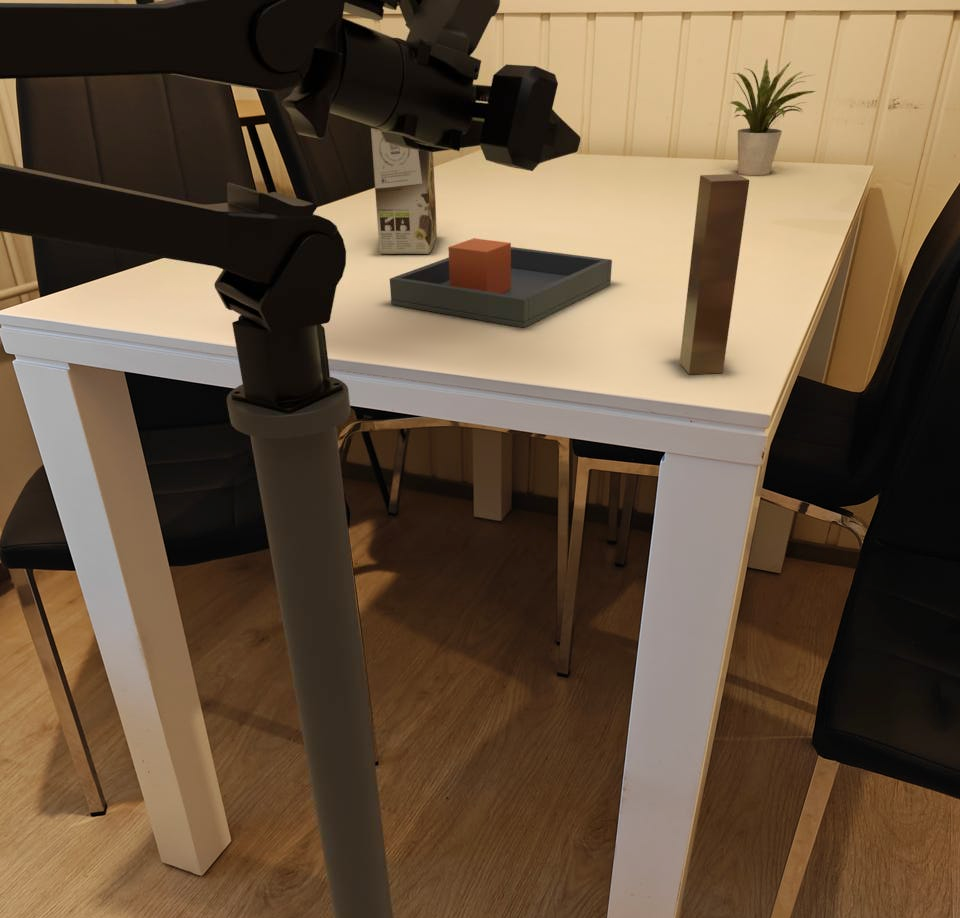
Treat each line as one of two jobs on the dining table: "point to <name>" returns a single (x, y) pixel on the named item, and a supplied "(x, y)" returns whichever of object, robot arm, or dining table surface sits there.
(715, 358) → the tall brown rectangular pillar
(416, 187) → the coffee box
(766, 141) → the house plant
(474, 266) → the block
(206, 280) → the dining table surface
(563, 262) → the tray
